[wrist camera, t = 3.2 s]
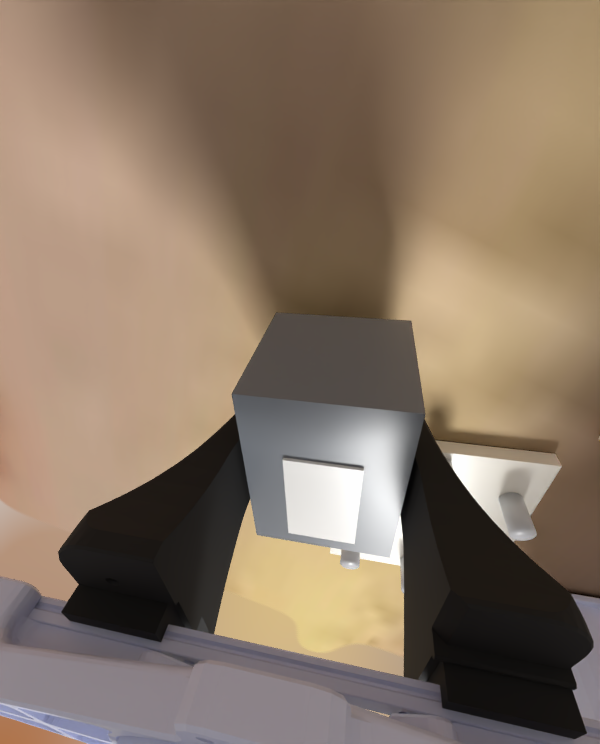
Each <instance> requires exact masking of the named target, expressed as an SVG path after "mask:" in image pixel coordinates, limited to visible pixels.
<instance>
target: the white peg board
mask: <svg viewBox="0 0 600 744" xmlns="http://www.w3.org/2000/svg"><path fill="white" fill-rule="evenodd" d="M435 441H436V443H437V444H438V446H439V448H440V449H441V451H442V453H443V454H444V456H445V458H446V459H447V461H448V463H449V464H450V466H451V467H452V469H453V470H454V472H455V473H456V475H457V476H458V477H459V479H460V480H461V482H462V483H463V484H464V486H465V487H466V489H467V490H468V491H469V492H470V494H471V495H472V496H473V498H474V499H475V500H476V501H477V503H478V504H479V505H480V506H481V507H482V509H483V510H484V511H485V512H486V513H487V514H488V516H489V517H490V518H491V519H492V520H493V521H494V522H495V523H496V524H497V525H498V527H499V528H500V529H501V530H502V531H503V532H504V533H505V534H506V535H507V536H508V537H509V538H510V539H511V540H512V541H513V542H514V541H515V540H519V541H526V540H531V539H533V538H535V537H536V535H537V533H536V530H535V527H534V525H533V522H532V520H531V517H530V516H531V514H532V513H533V511H534V510H535V508H536V507H537V505H538V503H539V502H540V500H541V499H542V497H543V496H544V494H545V492H546V491H547V489H548V488H549V486H550V484H551V483H552V481H553V480H554V478H555V477H556V475H557V473H558V472H559V470H560V469H561V467H562V465H561V464H560V462H559V460H558V458H557V456H556V454H552V453H544V452H535V451H526V450H517V449H508V448H499V447H490V446H481V445H472V444H463V443H455V442H446V441H437V440H435ZM330 554H336V555H341V560H340V564H341V565H342V566H343V567H344V568H347V569H357V568H359V561H360V559H365V560H371V561H377V562H383V563H389V564H395V565H400V569H401V590H402V592H403V593H404V553H403V534H402V525H401V517H400V518H399V522H398V526H397V530H396V534H395V538H394V542H393V546H392V551H391V555H390V558H388V557H382V556H376V555H371V554H365V553H359V552H353V551H347V550H342V549H336V548H330Z"/></svg>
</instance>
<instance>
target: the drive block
mask: <svg viewBox="0 0 600 744" xmlns="http://www.w3.org/2000/svg"><path fill="white" fill-rule="evenodd" d="M232 399H233V404H234V410H235V416H236V421H237V427H238V432H239V438H240V443H241V449H242V455H243V460H244V466H245V471H246V477H247V482H248V488H249V494H250V499H251V505H252V510H253V516H254V521H255V527H256V533H257V535H261V536H266V537H272V538H278V539H284V540H290V541H295V542H301V543H307V544H313V545H318V546H324V547H330V548H336V549H342V550H347V551H353V552H359V553H365V554H371V555H376V556H382V557H388V558H390V555H391V551H392V546H393V542H394V538H395V534H396V530H397V526H398V522H399V518H400V514H401V510H402V506H403V502H404V498H405V494H406V490H407V486H408V482H409V478H410V474H411V470H412V466H413V462H414V458H415V454H416V450H417V446H418V442H419V438H420V434H421V430H422V426H423V422H424V418H425V408H424V402H423V395H422V388H421V382H420V375H419V369H418V362H417V355H416V349H415V342H414V336H413V329H412V322H411V321H406V320H390V319H373V318H357V317H341V316H325V315H308V314H292V313H276V314H275V316H274V318H273V320H272V321H271V323H270V325H269V327H268V329H267V330H266V332H265V334H264V336H263V338H262V340H261V341H260V343H259V345H258V347H257V349H256V350H255V352H254V354H253V356H252V358H251V360H250V361H249V363H248V365H247V367H246V369H245V370H244V372H243V374H242V376H241V378H240V380H239V381H238V383H237V385H236V387H235V389H234V390H233V392H232Z"/></svg>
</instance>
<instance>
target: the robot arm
mask: <svg viewBox="0 0 600 744" xmlns="http://www.w3.org/2000/svg"><path fill="white" fill-rule="evenodd" d="M249 500H250V494H249V488H248V482H247V477H246V471H245V466H244V460H243V455H242V449H241V443H240V438H239V432H238V427H237V421H236V416H235V415H234V416H233V417H232V418H231V419H230V420H229V421H228V422H227V423H226V424H224V425H223V426H222V427H221V428H220V429H219V430H218V431H217V432H216V433H215V434H214V435H213V436H211V437H210V438H209V439H208V440H207V441H206V442H204V443H203V444H202V445H201V446H200V447H199V448H197V449H196V450H195V451H194V452H192V453H191V454H190V455H188V456H187V457H186V458H184V459H183V460H181V461H180V462H179V463H177V464H176V465H174V466H173V467H171V468H170V469H168V470H167V471H165V472H163V473H162V474H160V475H159V476H157V477H155V478H154V479H152V480H150V481H149V482H147V483H145V484H143V485H142V486H140V487H138V488H136V489H134V490H132V491H130V492H128V493H126V494H124V495H122V496H120V497H118V498H116V499H114V500H112V501H110V502H107V503H105V504H103V505H101V506H99V507H96V508H94V509H92V510H89V511H88V513H87V514H86V515H85V516H84V518H83V519H82V520H81V521H80V523H79V524H78V525H77V527H76V528H75V529H74V531H73V532H72V533H71V535H70V536H69V538H68V539H67V540H66V542H65V543H64V544H63V545H62V547H61V548H60V550H59V552H58V553H59V560H60V562H61V563H62V565H63V566H64V567H65V568H66V569H67V571H68V572H69V573H70V574H71V575H72V577H73V578H74V579H75V580H76V581H77V583H78V584H79V585H78V587H77V588H76V590H75V591H74V593H73V594H72V596H71V597H70V599H69V600H68V601H63V600H59V599H54V598H50V597H45V596H41V593H40V592H39V590H38V589H37V588H35V587H34V586H33V585H31V584H29V583H26V582H23V581H19V580H15V579H10V578H6V577H1V576H0V715H1V716H4V717H7V718H10V719H14V720H17V721H20V722H23V723H26V724H29V725H32V726H35V727H39V728H42V729H45V730H48V731H51V732H54V733H57V734H60V735H63V736H66V737H69V738H72V739H75V740H78V741H81V742H84V743H88V744H600V598H594V597H588V596H583V595H577V594H571V593H570V592H568V591H567V590H566V589H565V588H564V587H563V586H561V585H560V584H559V583H558V582H557V581H556V580H554V579H553V578H552V577H551V576H550V575H549V574H547V573H546V572H545V571H544V570H543V569H542V568H540V567H539V566H538V565H537V564H536V563H535V562H534V561H533V560H531V559H530V558H529V557H528V556H527V555H526V554H525V553H524V552H523V551H522V550H521V549H520V548H519V547H518V546H517V545H516V544H515V543H514V542H513V541H512V540H511V539H510V538H509V537H508V536H507V535H506V534H505V533H504V532H503V531H502V530H501V529H500V528H499V527H498V525H497V524H496V523H495V522H494V521H493V520H492V519H491V518H490V517H489V516H488V514H487V513H486V512H485V511H484V510H483V509H482V507H481V506H480V505H479V504H478V503H477V501H476V500H475V499H474V498H473V496H472V495H471V494H470V492H469V491H468V490H467V489H466V487H465V486H464V484H463V483H462V482H461V480H460V479H459V477H458V476H457V475H456V473H455V472H454V470H453V469H452V467H451V466H450V464H449V463H448V461H447V459H446V458H445V456H444V454H443V453H442V451H441V449H440V448H439V446H438V444H437V443H436V441H435V439H434V437H433V435H432V433H431V431H430V430H429V428H428V426H427V423H426V421H425V419H424V422H423V426H422V430H421V434H420V438H419V442H418V446H417V450H416V454H415V458H414V462H413V466H412V470H411V474H410V478H409V482H408V486H407V490H406V494H405V498H404V502H403V506H402V510H401V514H400V517H401V525H402V534H403V553H404V677H402V676H397V675H393V674H389V673H384V672H380V671H375V670H371V669H366V668H362V667H357V666H353V665H348V664H344V663H340V662H335V661H330V660H326V659H322V658H317V657H313V656H308V655H304V654H299V653H295V652H290V651H286V650H282V649H277V648H272V647H268V646H264V645H259V644H255V643H250V642H246V641H241V640H237V639H233V638H228V637H224V636H219V635H215V634H214V631H215V626H216V622H217V617H218V613H219V609H220V604H221V599H222V596H223V592H224V588H225V583H226V579H227V575H228V571H229V567H230V563H231V560H232V556H233V552H234V548H235V544H236V541H237V537H238V534H239V530H240V527H241V523H242V520H243V517H244V514H245V511H246V508H247V505H248V503H249ZM366 709H367V710H366ZM369 710H372V711H376V712H380V713H384V714H388V715H390V716H389V717H386V716H383V715H380V714H378V713H375V712H372V711H369Z"/></svg>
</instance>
